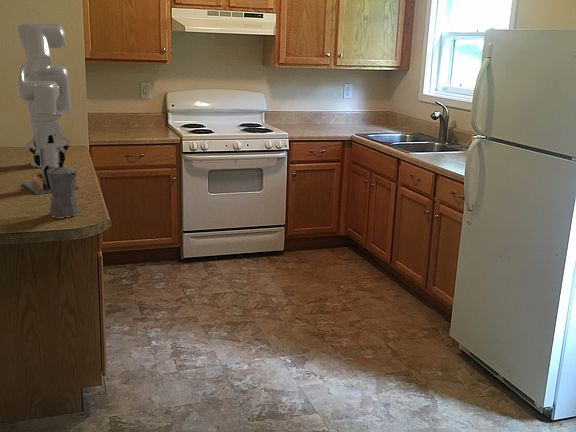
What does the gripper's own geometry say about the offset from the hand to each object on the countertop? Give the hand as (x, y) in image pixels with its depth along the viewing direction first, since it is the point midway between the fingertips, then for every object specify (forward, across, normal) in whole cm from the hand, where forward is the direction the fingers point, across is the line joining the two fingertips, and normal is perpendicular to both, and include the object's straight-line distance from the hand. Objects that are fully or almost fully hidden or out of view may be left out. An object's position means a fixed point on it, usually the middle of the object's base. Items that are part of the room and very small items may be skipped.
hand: (50, 163), depth 238 cm
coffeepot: (+10, +7, +35) cm, 37 cm away
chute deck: (+10, 0, -2) cm, 10 cm away
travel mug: (+9, 0, 0) cm, 9 cm away
